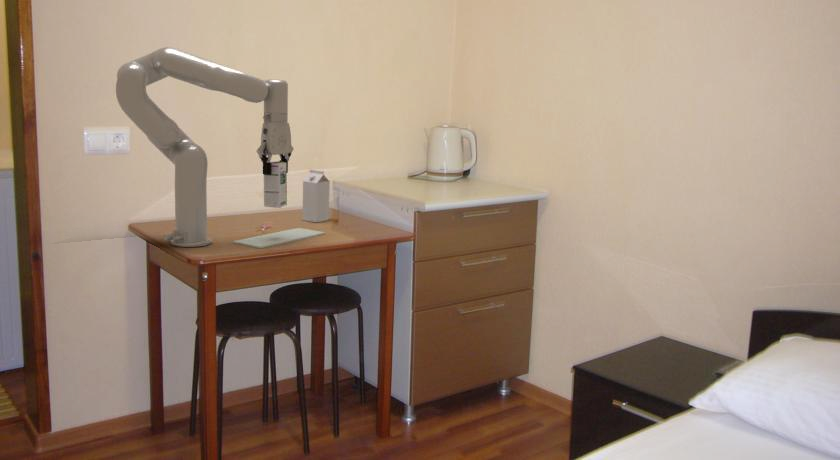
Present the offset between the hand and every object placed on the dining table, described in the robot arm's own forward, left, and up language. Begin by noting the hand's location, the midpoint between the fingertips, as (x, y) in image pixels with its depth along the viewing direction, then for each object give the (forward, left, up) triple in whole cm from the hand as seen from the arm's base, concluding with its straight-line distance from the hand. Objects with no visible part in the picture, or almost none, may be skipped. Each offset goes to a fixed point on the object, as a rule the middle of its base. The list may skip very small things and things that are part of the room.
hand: (275, 173), depth 252 cm
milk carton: (+37, +13, -22) cm, 45 cm away
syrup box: (0, 0, -11) cm, 11 cm away
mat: (+3, 0, -22) cm, 22 cm away
